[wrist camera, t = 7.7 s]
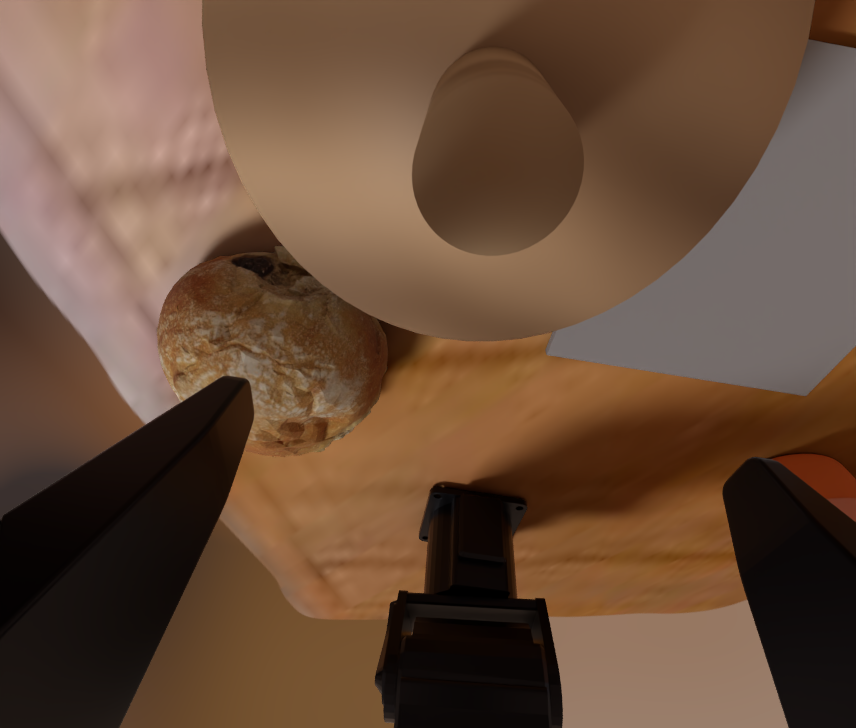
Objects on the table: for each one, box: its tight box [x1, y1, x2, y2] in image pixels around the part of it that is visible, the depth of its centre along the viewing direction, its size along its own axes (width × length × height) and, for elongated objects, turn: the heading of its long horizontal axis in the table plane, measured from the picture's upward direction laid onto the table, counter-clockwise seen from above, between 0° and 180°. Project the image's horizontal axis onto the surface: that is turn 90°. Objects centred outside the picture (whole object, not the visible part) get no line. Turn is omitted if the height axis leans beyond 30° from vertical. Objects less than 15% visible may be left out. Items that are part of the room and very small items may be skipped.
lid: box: [202, 0, 815, 341], centre depth 9 cm, size 13×13×5 cm
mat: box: [546, 39, 856, 396], centre depth 18 cm, size 13×13×1 cm
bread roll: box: [157, 246, 388, 457], centre depth 21 cm, size 10×10×8 cm
